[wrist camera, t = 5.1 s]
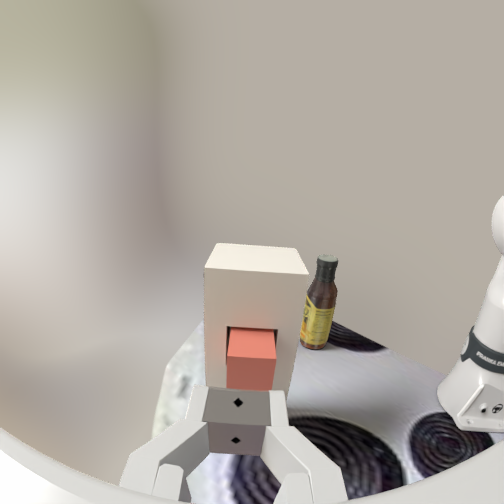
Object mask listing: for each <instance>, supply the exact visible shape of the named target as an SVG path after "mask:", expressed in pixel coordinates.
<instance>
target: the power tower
mask: <svg viewBox="0 0 504 504" xmlns="http://www.w3.org/2000/svg"><path fill="white" fill-rule="evenodd" d="M308 280H309V273H308V271H307V269H306V267H305V265H304V263H303V262H302V260H301V258H300V256H299V254H298V252H297V251H296V249H295V248H283V247H269V246H254V245H239V244H225V243H217V244H216V246H215V248H214V250H213V252H212V254H211V255H210V258H209V260H208V261H207V263H206V265H205V267H204V342H205V376H206V386H209V387H210V386H212V387H220V388H226V379H227V353H228V346H229V339H230V332H231V326H232V327H247V328H264V329H273V332H274V340H275V349H276V358H277V359H276V366H275V372H274V378H273V385H272V390H282V391H284V392H285V398H286V400H287V396H288V391H289V386H290V382H291V377H292V372H293V367H294V362H295V357H296V352H297V346H298V341H299V336H300V330H301V324H302V318H303V312H304V306H305V300H306V294H307V287H308Z"/></svg>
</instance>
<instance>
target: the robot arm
mask: <svg viewBox="0 0 504 504" xmlns="http://www.w3.org/2000/svg"><path fill="white" fill-rule="evenodd" d="M492 234H493V239H494V242H495V244H496V246H497V248H498V250H499V251H500V252H501V254H502V256H501V259H500V261H499V264H498V267H497V269H496V272H495V274H494V276H493V278H492V280H491V282H490V284H489V286H488V288H487V291H486V295H485V298H484V301H483V304H482V307H481V310H480V313H479V315H478V318H477V321H476V323H475V325H474V326H473V327H472V328H471V331H470V333H469V335H468V336H467V339H466V341H465V343H464V346H463V348H462V351H461V356H460V358H459V360H458V361H457V363H456V364H455V366H454V367H453V369H452V370H451V372H450V373H449V374H448V375H447V376H446V378H445V379H444V380H443V381H442V382H441V383H440V384H439V386H438V389H437V396H438V399H439V402H440V404H441V405H442V407H443V408H444V409H445V411H446V412H447V413H448V414H450V415H451V416H452V418H453V419H454V421H455V423H456V425H457V427H458V428H459V429H461V430H467V431H480V432H504V195H503V196H502V197H501V198H500V199H499V201H498V202H497V204H496V206H495V208H494V211H493V215H492ZM209 452H211V453H225V454H240V455H256V456H260V457H261V458H262V460H263V461H264V462H265V464H266V465H267V466H268V468H269V469H270V470H271V472H272V473H273V474H274V476H275V477H276V478H277V479H278V481H279V482H280V483H281V484H282V486H281V488H280V490H279V492H278V494H277V496H276V499H275V501H274V503H273V504H504V439H503V440H501V441H500V442H498V443H497V444H495V445H493V446H492V447H490V448H488V449H486V450H485V451H483V452H481V453H479V454H478V455H476V456H474V457H472V458H470V459H468V460H466V461H464V462H462V463H460V464H458V465H456V466H454V467H452V468H450V469H447V470H445V471H443V472H440V473H438V474H436V475H433V476H431V477H428V478H426V479H423V480H420V481H417V482H415V483H412V484H409V485H406V486H403V487H400V488H396V489H393V490H390V491H386V492H382V493H379V494H375V495H371V496H366V497H362V498H357V499H352V500H348V498H347V494H346V490H345V486H344V482H343V478H342V473H341V469H340V467H339V466H337V465H336V464H335V463H334V462H333V461H331V460H330V459H329V458H328V457H327V456H326V455H325V454H323V453H322V452H321V451H320V450H319V449H318V448H317V447H316V446H315V445H313V444H312V443H311V442H310V441H309V440H308V439H307V438H306V437H305V436H304V435H303V434H302V433H300V432H299V431H298V430H297V429H296V428H295V427H294V426H289V420H288V412H287V405H286V398H285V392H284V391H282V390H269V391H268V390H244V389H229V388H220V387H212V386H210V387H209V386H202V385H194V386H193V389H192V393H191V397H190V401H189V405H188V409H187V413H186V417H185V419H179V420H178V421H177V422H175V423H174V424H173V425H171V426H170V427H168V428H167V429H166V430H164V431H163V432H161V433H160V434H159V435H157V436H156V437H154V438H153V439H152V440H150V441H149V442H147V443H146V444H144V445H143V446H141V447H140V448H138V449H137V450H135V451H134V452H132V453H131V454H130V456H129V459H128V461H127V464H126V466H125V469H124V472H123V475H122V477H121V480H120V483H119V486H117V485H114V484H111V483H108V482H105V481H103V480H100V479H97V478H94V477H92V476H89V475H87V474H84V473H82V472H80V471H77V470H75V469H73V468H71V467H68V466H66V465H64V464H62V463H60V462H58V461H56V460H54V459H52V458H50V457H48V456H46V455H44V454H43V453H41V452H39V451H37V450H35V449H34V448H32V447H30V446H28V445H27V444H25V443H23V442H22V441H20V440H19V439H17V438H16V437H14V436H12V435H11V434H9V433H8V432H6V431H5V430H3V429H2V428H1V427H0V504H194V503H191V495H190V492H189V488H188V485H187V481H186V477H187V476H188V475H189V474H190V473H191V472H192V471H193V470H194V469H195V468H196V467H197V466H198V465H199V464H200V463H201V462H202V461H203V460H204V459H205V458H206V457H207V456H208V455H209Z"/></svg>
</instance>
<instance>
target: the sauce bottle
mask: <svg viewBox="0 0 504 504" xmlns="http://www.w3.org/2000/svg"><path fill="white" fill-rule="evenodd" d="M337 264H338V259H337V258H336V257H334V256H331V255H319V256H318V259H317V271H316V275H315V279H314V280H313V282H312V284H311V286H310V288H309V289H308V291H307V294H306V301H305V307H304V313H303V319H302V325H301V331H300V342H301V344H302V345H303V346H304V347H307V348H309V349H321V348H323V347H324V346H325V344H326V342H327V340H328V335H329V331H330V327H331V323H332V318H333V314H334V309H335V304H336V297H337V288H336V286H335V283H334V279H335V271H336V267H337Z"/></svg>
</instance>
